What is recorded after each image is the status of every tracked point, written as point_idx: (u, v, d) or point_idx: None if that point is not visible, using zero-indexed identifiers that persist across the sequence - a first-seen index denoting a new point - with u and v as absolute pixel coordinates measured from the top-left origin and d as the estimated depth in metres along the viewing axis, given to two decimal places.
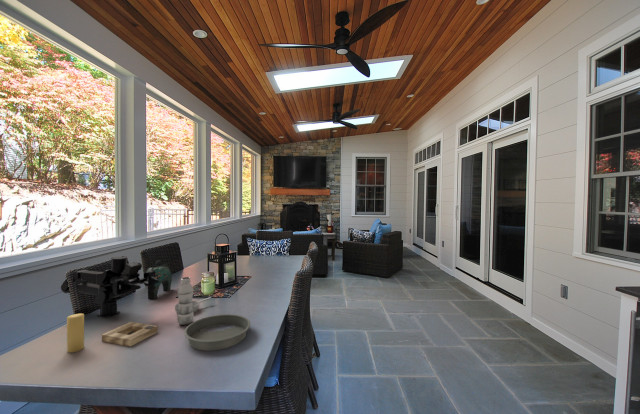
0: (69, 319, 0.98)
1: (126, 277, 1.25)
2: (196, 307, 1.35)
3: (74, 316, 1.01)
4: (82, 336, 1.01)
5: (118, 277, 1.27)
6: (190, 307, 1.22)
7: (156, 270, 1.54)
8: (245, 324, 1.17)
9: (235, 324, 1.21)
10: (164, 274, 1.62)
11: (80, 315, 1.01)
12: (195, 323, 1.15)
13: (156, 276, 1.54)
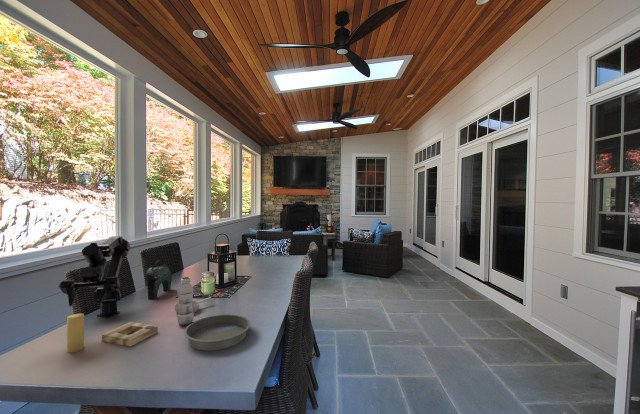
0: (69, 319, 0.98)
1: None
2: (196, 307, 1.35)
3: (74, 316, 1.01)
4: (82, 336, 1.01)
5: (88, 267, 1.16)
6: (190, 307, 1.22)
7: (156, 270, 1.54)
8: (245, 324, 1.17)
9: (235, 324, 1.21)
10: (164, 274, 1.62)
11: (80, 315, 1.01)
12: (195, 323, 1.15)
13: (156, 276, 1.54)
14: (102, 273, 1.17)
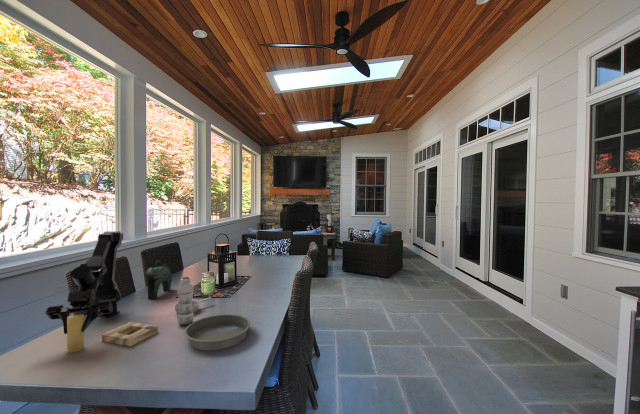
0: (69, 319, 0.98)
1: None
2: (196, 307, 1.35)
3: (74, 316, 1.00)
4: (82, 336, 1.01)
5: (78, 289, 1.08)
6: (190, 307, 1.22)
7: (156, 270, 1.54)
8: (245, 324, 1.17)
9: (235, 324, 1.21)
10: (164, 274, 1.62)
11: (80, 315, 1.01)
12: (195, 323, 1.15)
13: (156, 276, 1.54)
14: (93, 296, 1.09)
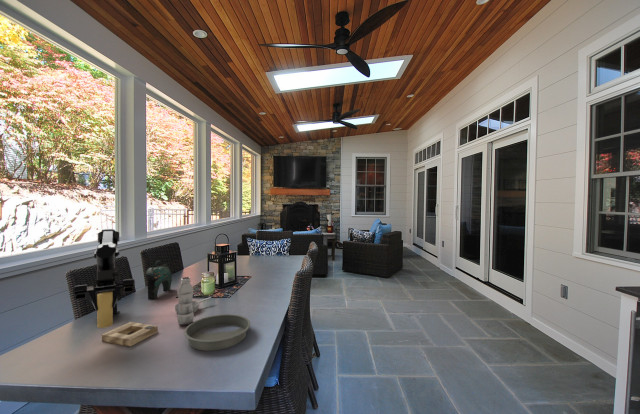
0: (101, 296, 1.03)
1: None
2: (196, 307, 1.35)
3: (103, 293, 1.05)
4: (112, 312, 1.06)
5: (98, 270, 1.10)
6: (190, 307, 1.22)
7: (156, 270, 1.54)
8: (245, 324, 1.17)
9: (235, 324, 1.21)
10: (164, 274, 1.62)
11: (109, 292, 1.06)
12: (195, 323, 1.15)
13: (156, 276, 1.54)
14: None
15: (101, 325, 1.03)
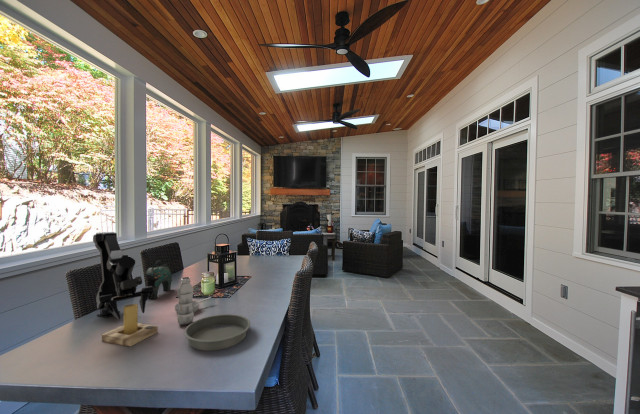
0: (129, 309, 1.08)
1: (118, 291, 1.11)
2: (196, 307, 1.35)
3: (129, 306, 1.10)
4: (137, 323, 1.12)
5: (117, 280, 1.14)
6: (190, 307, 1.22)
7: (156, 270, 1.54)
8: (245, 324, 1.17)
9: (235, 324, 1.21)
10: (164, 274, 1.62)
11: (134, 305, 1.12)
12: (195, 323, 1.15)
13: (156, 276, 1.54)
14: None
15: None
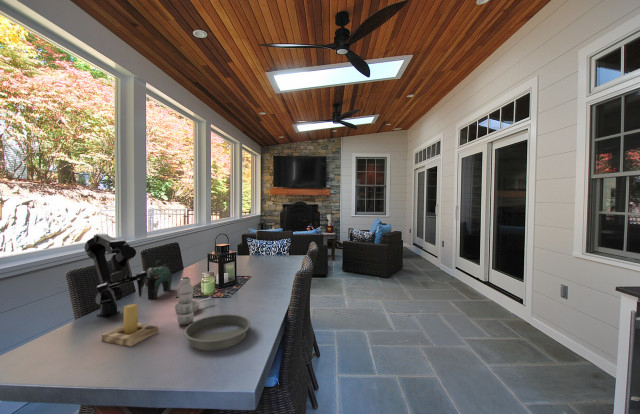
0: (129, 308, 1.08)
1: None
2: (196, 307, 1.35)
3: (129, 306, 1.10)
4: (137, 323, 1.12)
5: (116, 265, 1.21)
6: (190, 307, 1.22)
7: (156, 270, 1.54)
8: (245, 324, 1.17)
9: (235, 324, 1.21)
10: (164, 274, 1.62)
11: (134, 305, 1.12)
12: (195, 323, 1.15)
13: (156, 276, 1.54)
14: None
15: None
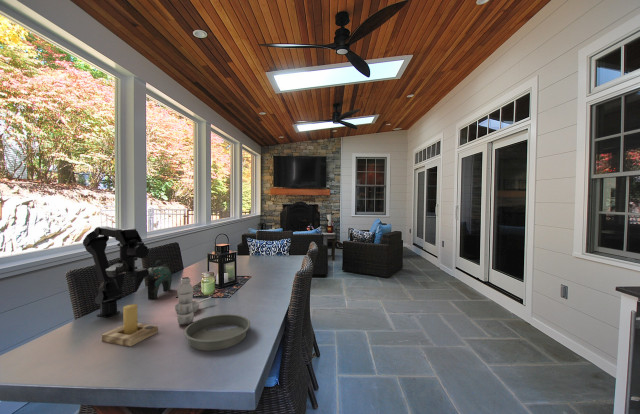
0: (129, 309, 1.08)
1: None
2: (196, 307, 1.35)
3: (129, 306, 1.10)
4: (137, 323, 1.12)
5: (124, 256, 1.23)
6: (190, 307, 1.22)
7: (156, 270, 1.54)
8: (245, 324, 1.17)
9: (235, 324, 1.21)
10: (164, 274, 1.62)
11: (134, 305, 1.11)
12: (195, 323, 1.15)
13: (156, 276, 1.54)
14: (131, 262, 1.25)
15: None
